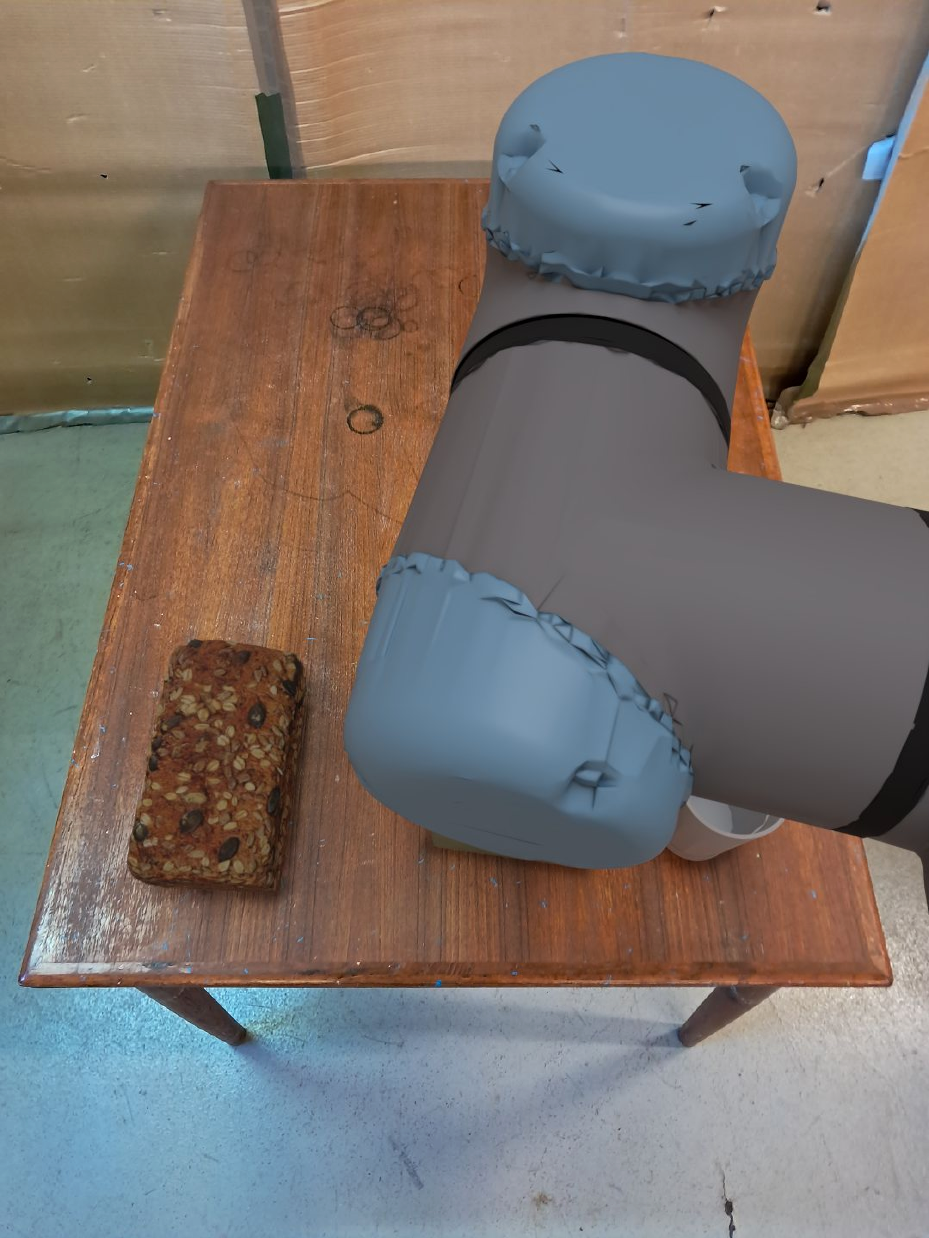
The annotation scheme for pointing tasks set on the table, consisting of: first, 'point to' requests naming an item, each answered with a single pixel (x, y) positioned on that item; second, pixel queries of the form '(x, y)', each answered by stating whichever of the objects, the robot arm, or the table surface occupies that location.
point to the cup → (716, 828)
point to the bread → (220, 769)
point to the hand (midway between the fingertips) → (530, 709)
